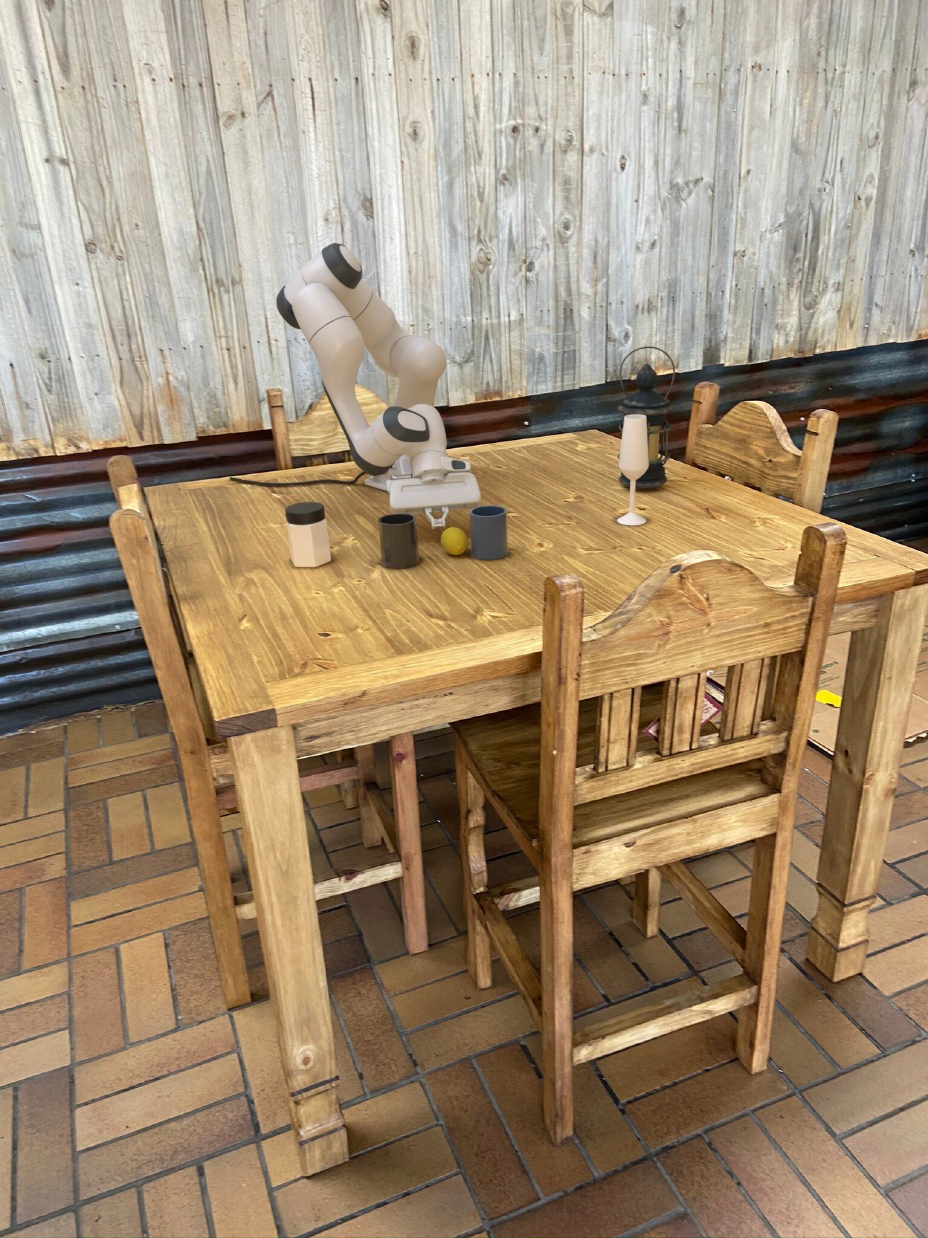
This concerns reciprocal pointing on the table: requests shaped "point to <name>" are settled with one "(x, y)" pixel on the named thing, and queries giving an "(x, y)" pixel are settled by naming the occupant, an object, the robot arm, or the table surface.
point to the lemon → (454, 541)
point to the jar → (308, 534)
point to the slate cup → (488, 532)
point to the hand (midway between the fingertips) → (438, 528)
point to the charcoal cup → (398, 540)
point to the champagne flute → (633, 460)
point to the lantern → (649, 423)
